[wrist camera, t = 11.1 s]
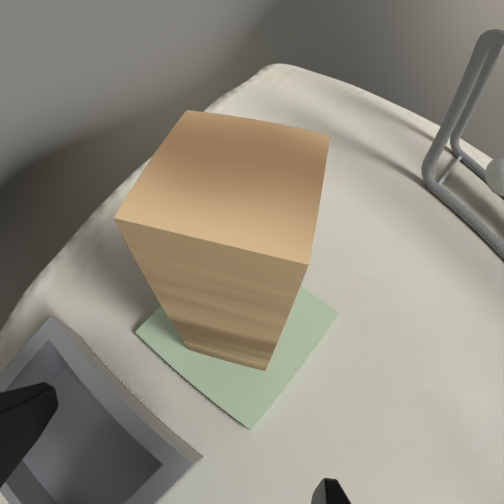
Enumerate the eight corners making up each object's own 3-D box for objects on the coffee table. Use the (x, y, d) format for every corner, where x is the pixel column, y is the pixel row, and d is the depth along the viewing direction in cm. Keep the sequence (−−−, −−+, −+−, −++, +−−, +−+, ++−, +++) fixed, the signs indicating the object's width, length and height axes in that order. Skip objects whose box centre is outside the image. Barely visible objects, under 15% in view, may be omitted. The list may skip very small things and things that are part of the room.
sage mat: (250, 429, 16) (250, 430, 15) (137, 334, 18) (135, 332, 18) (336, 315, 20) (338, 312, 19) (228, 241, 22) (228, 236, 22)
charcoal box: (99, 554, 10) (72, 572, 7) (-4, 432, 13) (-39, 426, 10) (203, 456, 15) (193, 464, 11) (80, 336, 18) (51, 315, 15)
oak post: (265, 371, 17) (308, 264, 6) (189, 349, 18) (113, 217, 7) (283, 300, 19) (329, 135, 9) (212, 282, 20) (186, 110, 9)
